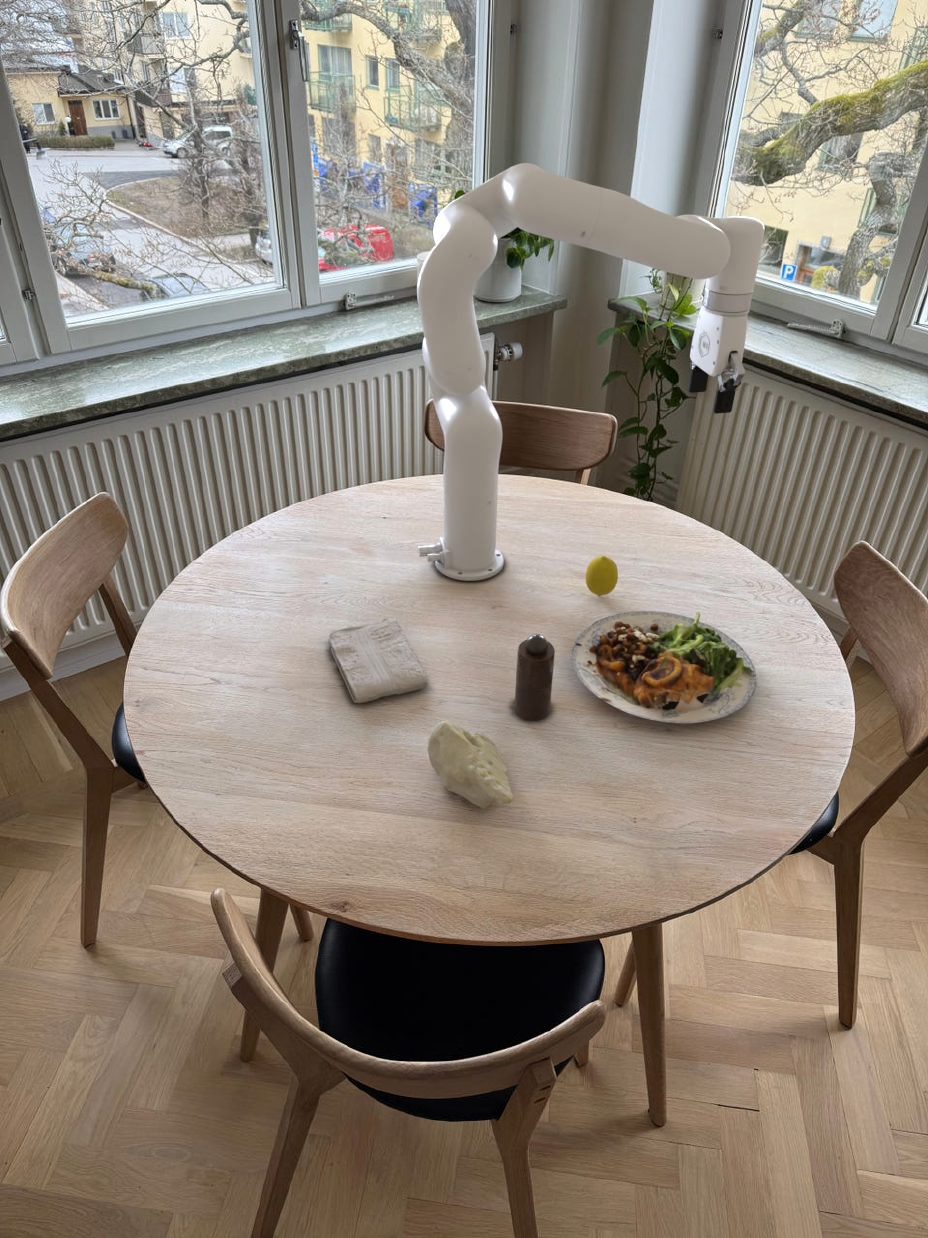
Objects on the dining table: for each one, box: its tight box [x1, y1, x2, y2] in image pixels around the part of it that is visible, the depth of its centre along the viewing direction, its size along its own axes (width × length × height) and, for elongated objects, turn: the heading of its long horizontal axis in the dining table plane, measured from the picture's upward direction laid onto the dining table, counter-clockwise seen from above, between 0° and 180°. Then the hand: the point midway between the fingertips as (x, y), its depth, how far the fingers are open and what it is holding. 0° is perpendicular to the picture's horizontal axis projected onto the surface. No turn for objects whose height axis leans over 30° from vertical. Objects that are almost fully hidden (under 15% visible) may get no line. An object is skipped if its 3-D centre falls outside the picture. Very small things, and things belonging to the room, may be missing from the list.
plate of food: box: [571, 610, 758, 724], centre depth 138 cm, size 28×28×6 cm
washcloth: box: [328, 618, 430, 704], centre depth 140 cm, size 12×18×3 cm, turn 22°
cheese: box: [427, 719, 515, 810], centre depth 117 cm, size 15×7×15 cm
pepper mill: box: [514, 633, 556, 722], centre depth 129 cm, size 5×5×13 cm
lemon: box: [584, 555, 619, 597], centre depth 156 cm, size 6×6×8 cm
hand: (709, 401), depth 156 cm, fingers open, 9 cm apart
